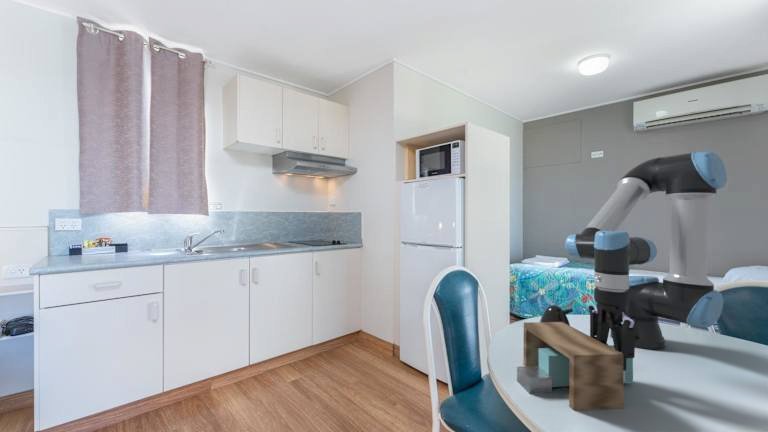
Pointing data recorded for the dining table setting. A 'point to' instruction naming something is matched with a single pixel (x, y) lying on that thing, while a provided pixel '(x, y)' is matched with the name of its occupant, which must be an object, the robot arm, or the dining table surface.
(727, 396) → the dining table surface
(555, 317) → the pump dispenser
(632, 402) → the dining table surface
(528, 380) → the low grey plinth
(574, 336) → the walnut shelf
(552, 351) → the teal batten
